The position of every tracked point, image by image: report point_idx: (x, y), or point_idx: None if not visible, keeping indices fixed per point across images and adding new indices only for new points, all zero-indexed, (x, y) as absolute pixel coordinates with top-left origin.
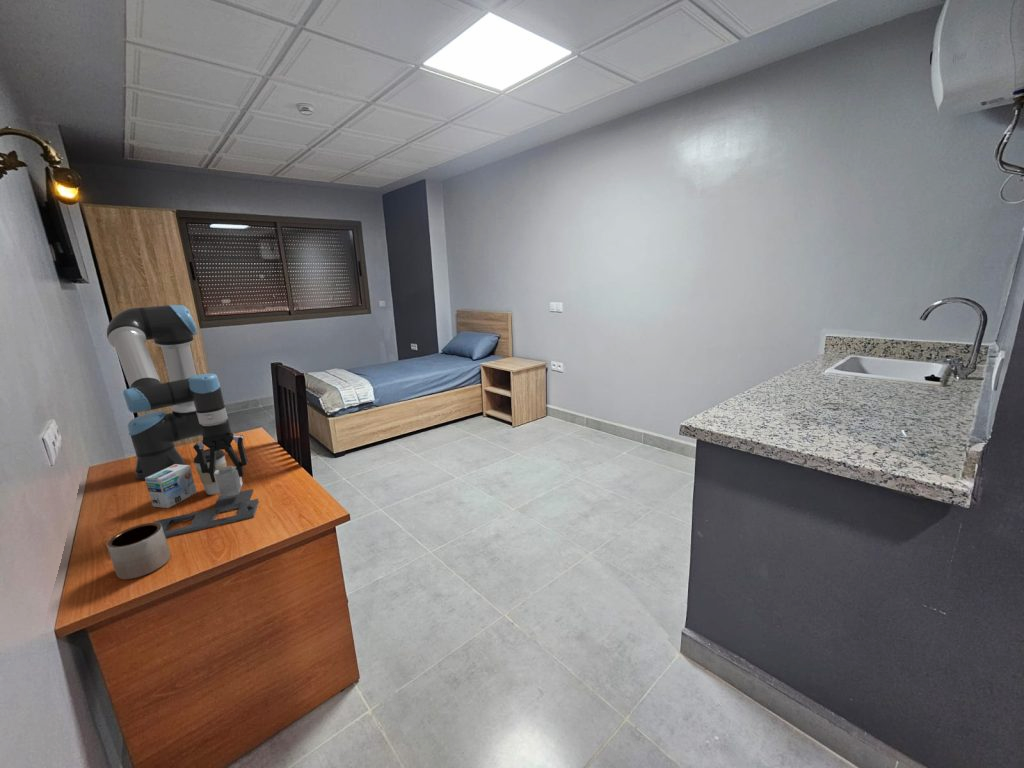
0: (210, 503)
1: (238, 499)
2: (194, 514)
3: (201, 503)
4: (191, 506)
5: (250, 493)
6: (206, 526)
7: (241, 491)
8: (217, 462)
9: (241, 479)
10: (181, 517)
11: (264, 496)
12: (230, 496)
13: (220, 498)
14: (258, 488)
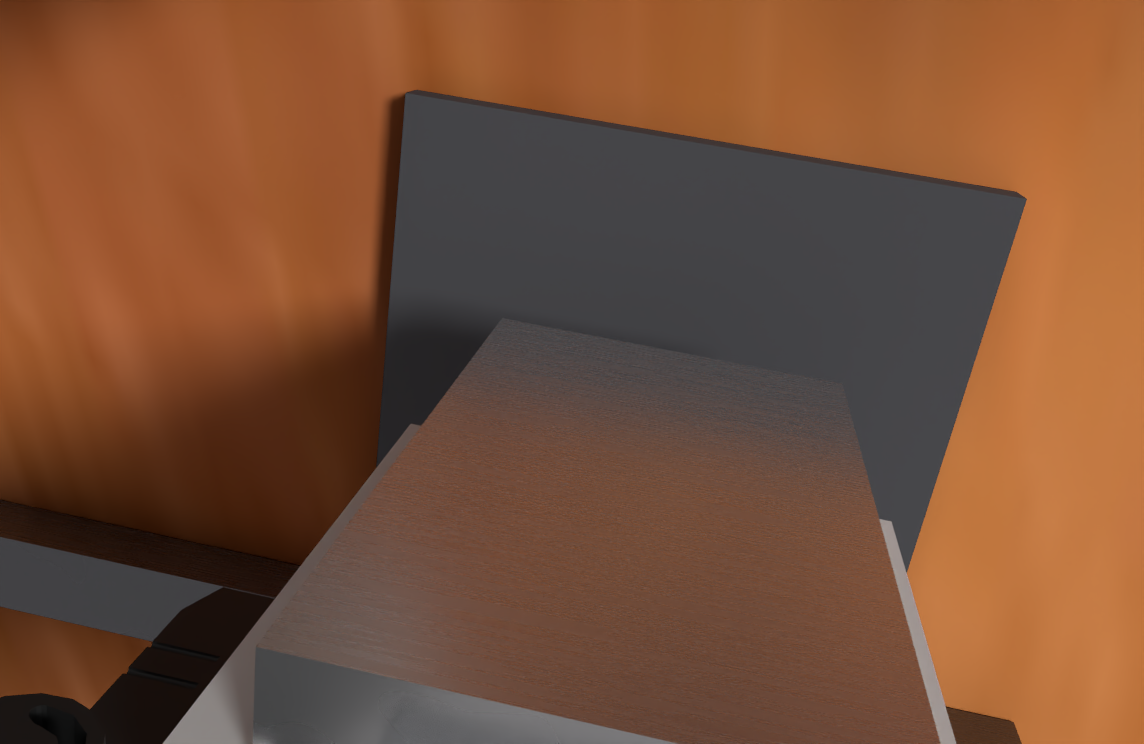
0: (296, 246)
1: None
2: (154, 630)
3: (149, 137)
4: (18, 151)
5: (946, 392)
6: None
7: (801, 174)
8: None
9: (907, 603)
10: (5, 598)
11: (1138, 595)
12: (601, 270)
13: (437, 234)
14: (1127, 155)
